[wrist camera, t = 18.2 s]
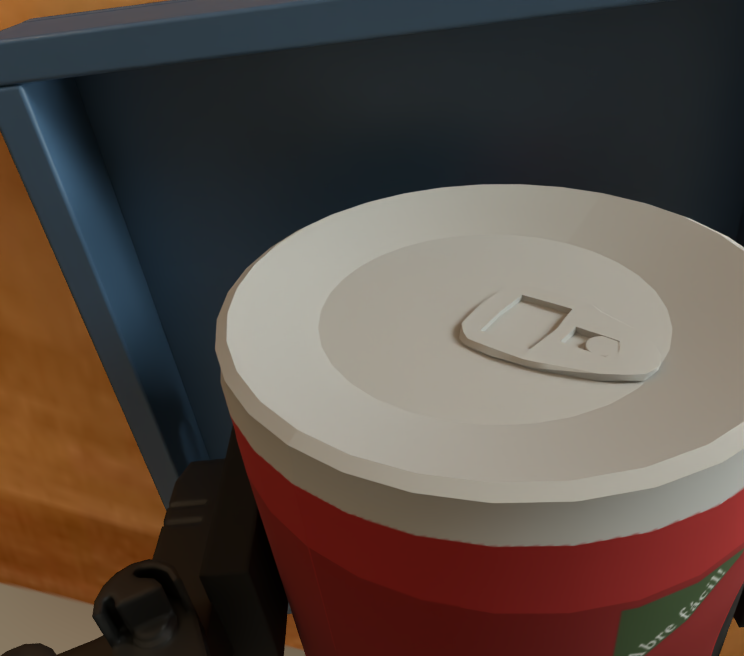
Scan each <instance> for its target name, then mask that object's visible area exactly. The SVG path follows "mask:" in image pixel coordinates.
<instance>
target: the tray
mask: <svg viewBox="0 0 744 656" xmlns="http://www.w3.org/2000/svg"><path fill="white" fill-rule="evenodd" d="M0 131H1V133H2V136H3V138H4V140H5V143H6V145H7V147H8V149H9V152H10V154H11V156H12V159H13V161H14V163H15V165H16V168H17V170H18V172H19V175H20V177H21V179H22V181H23V184H24V186H25V188H26V191H27V193H28V195H29V198H30V200H31V202H32V204H33V207H34V209H35V211H36V214H37V216H38V218H39V220H40V223H41V225H42V227H43V230H44V232H45V234H46V236H47V239H48V241H49V243H50V246H51V248H52V250H53V252H54V255H55V257H56V259H57V262H58V264H59V266H60V268H61V271H62V273H63V275H64V278H65V280H66V282H67V284H68V287H69V289H70V291H71V294H72V296H73V298H74V300H75V303H76V305H77V307H78V310H79V312H80V314H81V317H82V319H83V321H84V323H85V326H86V328H87V330H88V333H89V335H90V337H91V339H92V342H93V344H94V346H95V349H96V351H97V353H98V355H99V358H100V360H101V362H102V365H103V367H104V369H105V371H106V374H107V376H108V378H109V381H110V383H111V385H112V387H113V390H114V392H115V394H116V397H117V399H118V401H119V403H120V406H121V408H122V410H123V413H124V415H125V417H126V419H127V422H128V424H129V426H130V429H131V431H132V433H133V435H134V438H135V440H136V442H137V445H138V447H139V449H140V452H141V454H142V456H143V458H144V461H145V463H146V465H147V468H148V470H149V472H150V474H151V477H152V479H153V481H154V484H155V486H156V488H157V490H158V493H159V495H160V497H161V500H162V502H163V504H164V506H165V509H166V511H167V509H168V508H169V502H170V499H171V495H172V492H173V489H174V485H175V482H176V481H177V479H178V478H179V477H180V476H181V474H182V473H183V472H184V470H185V469H186V468H187V467H188V465H189V464H190V463H191V462H193V461H203V460H213V459H223V458H225V457H226V453H227V448H228V444H229V439H230V435H231V431H232V426H233V423H232V419H231V416H230V413H229V410H228V406H227V403H226V399H225V396H224V393H223V389H222V386H221V383H220V380H221V367H220V364H219V361H218V357H217V354H216V351H215V342H216V324H217V318H218V315H219V313H220V310H221V308H222V305H223V303H224V301H225V298H226V296H227V293H228V292H229V290H230V289H231V288H232V286H233V285H234V284H235V282H236V281H237V280H238V278H239V277H240V276H241V274H242V273H243V272H244V271H245V269H246V268H247V267H248V266H250V265H251V264H252V263H253V262H254V261H255V260H256V259H258V258H259V257H260V256H261V255H262V254H263V253H264V252H266V251H267V250H268V249H269V248H270V247H272V246H274V245H275V244H277V243H278V242H280V241H282V240H283V239H285V238H286V237H288V236H290V235H291V234H293V233H294V232H296V231H298V230H299V229H302V228H304V227H306V226H308V225H310V224H312V223H315V222H317V221H319V220H321V219H323V218H325V217H328V216H330V215H332V214H335V213H338V212H341V211H344V210H347V209H350V208H353V207H355V206H358V205H361V204H364V203H367V202H371V201H375V200H379V199H383V198H387V197H392V196H396V195H400V194H404V193H410V192H417V191H423V190H429V189H436V188H443V187H455V186H468V185H481V184H524V185H539V186H553V187H564V188H571V189H578V190H585V191H591V192H598V193H604V194H608V195H612V196H617V197H621V198H625V199H629V200H634V201H638V202H642V203H646V204H649V205H652V206H655V207H658V208H661V209H664V210H667V211H670V212H672V213H675V214H678V215H681V216H684V217H687V218H690V219H692V220H694V221H696V222H698V223H700V224H702V225H705V226H707V227H709V228H711V229H713V230H715V231H717V232H719V233H721V234H723V235H726V236H728V237H729V238H731V239H732V240H734V241H735V242H737V243H738V244H740V245H741V246H743V247H744V0H170V1H162V2H155V3H147V4H140V5H132V6H124V7H117V8H109V9H102V10H94V11H86V12H79V13H71V14H64V15H56V16H48V17H41V18H33V19H29V20H27V21H24V22H22V23H20V24H17V25H15V26H12V27H9V28H7V29H4V30H2V31H0ZM287 614H292V612H291V608H290V605H289V602H288V613H287Z"/></svg>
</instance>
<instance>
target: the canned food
mask: <svg viewBox="0 0 744 656" xmlns="http://www.w3.org/2000/svg"><path fill="white" fill-rule="evenodd" d="M215 351H216V354H217V357H218V361H219V364H220V367H221V380H220V383H221V386H222V389H223V393H224V396H225V399H226V403H227V406H228V410H229V413H230V416H231V419H232V423H233V426H234V429H235V433H236V438H237V442H238V445H239V449H240V452H241V456H242V459H243V462H244V466H245V469H246V472H247V476H248V479H249V482H250V485H251V488H252V491H253V494H254V497H255V500H256V503H257V507H258V510H259V513H260V516H261V519H262V522H263V525H264V528H265V531H266V534H267V537H268V541H269V544H270V547H271V550H272V553H273V556H274V559H275V562H276V565H277V568H278V571H279V574H280V578H281V581H282V584H283V587H284V590H285V593H286V596H287V599H288V602H289V605H290V608H291V612H292V615H293V618H294V621H295V624H296V627H297V630H298V633H299V636H300V639H301V642H302V645H303V649H304V652H305V655H306V656H719V654H720V652H721V649H722V646H723V643H724V640H725V638H726V635H727V632H728V629H729V627H730V624H731V621H732V618H733V615H734V613H735V610H736V607H737V604H738V602H739V599H740V596H741V593H742V591H743V588H744V247H743V246H741V245H740V244H738V243H737V242H735V241H734V240H732V239H731V238H729V237H728V236H726V235H723V234H721V233H719V232H717V231H715V230H713V229H711V228H709V227H707V226H705V225H702V224H700V223H698V222H696V221H694V220H692V219H690V218H687V217H684V216H681V215H678V214H675V213H672V212H670V211H667V210H664V209H661V208H658V207H655V206H652V205H649V204H646V203H642V202H638V201H634V200H629V199H625V198H621V197H617V196H612V195H608V194H604V193H598V192H591V191H585V190H578V189H571V188H564V187H553V186H539V185H524V184H481V185H468V186H455V187H443V188H436V189H429V190H423V191H417V192H410V193H404V194H400V195H396V196H392V197H387V198H383V199H379V200H375V201H371V202H367V203H364V204H361V205H358V206H355V207H353V208H350V209H347V210H344V211H341V212H338V213H335V214H332V215H330V216H328V217H325V218H323V219H321V220H319V221H317V222H315V223H312V224H310V225H308V226H306V227H304V228H302V229H299V230H298V231H296V232H294V233H293V234H291V235H290V236H288V237H286V238H285V239H283V240H282V241H280V242H278V243H277V244H275V245H274V246H272V247H270V248H269V249H268V250H267V251H266V252H264V253H263V254H262V255H261V256H260V257H259V258H258V259H256V260H255V261H254V262H253V263H252V264H251V265H250V266H248V267H247V268H246V269H245V271H244V272H243V273H242V274H241V276H240V277H239V278H238V280H237V281H236V282H235V284H234V285H233V286H232V288H231V289H230V290H229V292H228V293H227V296H226V298H225V301H224V303H223V305H222V308H221V310H220V313H219V315H218V318H217V324H216V342H215Z"/></svg>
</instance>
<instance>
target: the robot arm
mask: <svg viewBox="0 0 744 656" xmlns="http://www.w3.org/2000/svg"><path fill="white" fill-rule="evenodd" d="M287 613H288V599H287V596H286V593H285V590H284V587H283V584H282V581H281V578H280V574H279V571H278V568H277V565H276V562H275V559H274V556H273V553H272V550H271V547H270V544H269V541H268V537H267V534H266V531H265V528H264V525H263V522H262V519H261V516H260V513H259V510H258V507H257V503H256V500H255V497H254V494H253V491H252V488H251V485H250V482H249V479H248V476H247V472H246V469H245V466H244V462H243V459H242V456H241V452H240V449H239V445H238V442H237V438H236V433H235V429H234V426H232V431H231V435H230V439H229V444H228V448H227V453H226V457H225V458H223V459H213V460H203V461H193V462H191V463H190V464H189V465H188V467H187V468H186V469H185V470H184V472H183V473H182V474H181V476H180V477H179V478H178V479H177V481H176V482H175V485H174V489H173V492H172V495H171V499H170V502H169V508H168V509H167V512H166V515H165V519H164V526H162V529H161V532H160V535H159V539H158V542H157V545H156V549H155V552H154V555H153V559H152V560H150V559H148V560H144V561H141V562H137V563H133V564H131V565H129V566H127V567H126V568H124V569H122V570H121V571H119V572H117V573H116V574H115V575H114V576H113V577H112V578H111V579H110V580H109V581H108V582H107V583H106V584H105V585H104V586H103V587H102V589H101V591H100V592H99V594H98V596H97V598H96V600H95V601H94V609H93V615H92V617H93V619H94V620H95V622H96V623H97V625H98V626H99V628H100V630H101V632H102V633H103V636H101V637H99V638H97V639H95V640H93V641H90V642H88V643H85V644H83V645H80V646H78V647H75V648H73V649H71V650H68V651H65V652H63V653H60V654H58V655H56V654H55V652H54V651H53V649H51V648H49V647H47V646H45V645H43V644H40V643H39V644H24V645H21V646H19V647H16V648H14V649H11V650H9V651H7V652H5V653H4V654H2V655H1V656H284V646H285V635H286V624H287ZM733 617H734V619H735V620H736V622H737V624H738V626H739V628H740V627H744V588H743V591H742V593H741V596H740V599H739V602H738V604H737V607H736V610H735V613H734V615H733Z"/></svg>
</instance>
